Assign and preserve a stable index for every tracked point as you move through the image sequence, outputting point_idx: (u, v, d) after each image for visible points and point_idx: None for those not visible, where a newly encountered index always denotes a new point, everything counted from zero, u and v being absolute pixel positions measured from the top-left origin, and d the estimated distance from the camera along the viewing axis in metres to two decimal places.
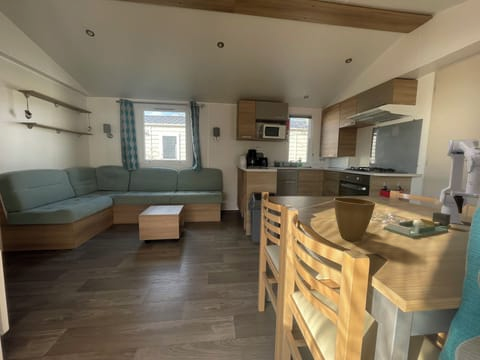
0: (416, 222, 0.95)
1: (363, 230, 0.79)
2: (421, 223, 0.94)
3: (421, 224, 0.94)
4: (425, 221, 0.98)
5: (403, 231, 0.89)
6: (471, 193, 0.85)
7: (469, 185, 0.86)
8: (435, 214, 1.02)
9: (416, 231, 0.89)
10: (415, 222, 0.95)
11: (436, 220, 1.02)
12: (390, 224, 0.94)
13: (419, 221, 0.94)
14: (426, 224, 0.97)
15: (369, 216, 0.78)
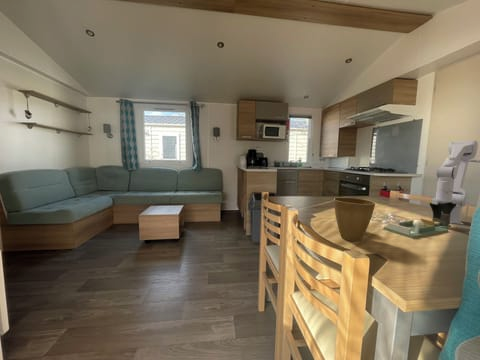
0: (416, 222, 0.95)
1: (363, 230, 0.79)
2: (421, 223, 0.94)
3: (421, 224, 0.94)
4: (425, 221, 0.98)
5: (403, 231, 0.89)
6: None
7: None
8: None
9: (416, 231, 0.89)
10: (415, 222, 0.95)
11: (436, 220, 1.02)
12: (390, 224, 0.94)
13: (419, 221, 0.94)
14: (426, 224, 0.97)
15: (369, 216, 0.78)
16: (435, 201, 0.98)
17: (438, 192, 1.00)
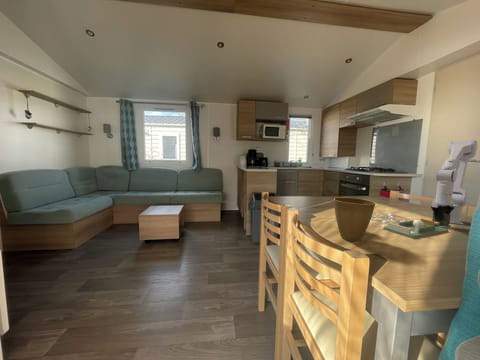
0: (416, 222, 0.95)
1: (363, 230, 0.79)
2: (421, 223, 0.94)
3: (421, 224, 0.94)
4: (425, 221, 0.98)
5: (403, 231, 0.89)
6: None
7: None
8: None
9: (416, 231, 0.89)
10: (415, 222, 0.95)
11: None
12: (390, 224, 0.94)
13: (419, 221, 0.94)
14: (426, 224, 0.97)
15: (369, 216, 0.78)
16: (435, 204, 0.98)
17: (438, 195, 1.01)
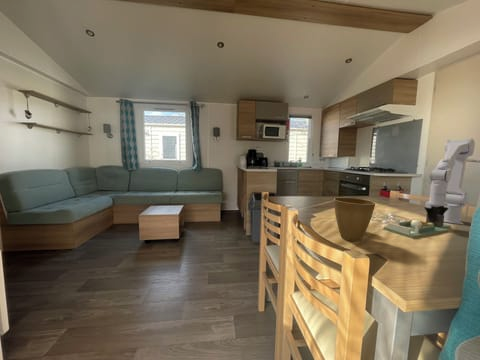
0: (413, 225, 0.94)
1: (363, 230, 0.79)
2: None
3: None
4: None
5: (403, 231, 0.89)
6: None
7: None
8: None
9: (416, 231, 0.89)
10: (413, 225, 0.95)
11: (430, 221, 1.00)
12: (390, 224, 0.94)
13: (416, 223, 0.94)
14: None
15: (369, 216, 0.78)
16: (428, 205, 0.96)
17: (432, 196, 0.99)
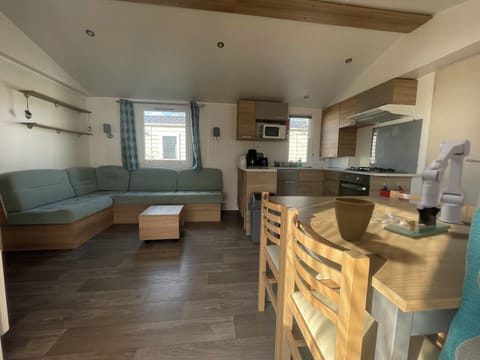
0: None
1: (363, 230, 0.79)
2: (408, 224, 0.90)
3: (408, 225, 0.90)
4: (410, 223, 0.94)
5: (403, 231, 0.89)
6: None
7: None
8: None
9: (416, 231, 0.89)
10: None
11: None
12: (390, 224, 0.94)
13: (407, 223, 0.91)
14: (411, 226, 0.93)
15: (369, 216, 0.78)
16: (420, 206, 0.94)
17: (424, 196, 0.96)
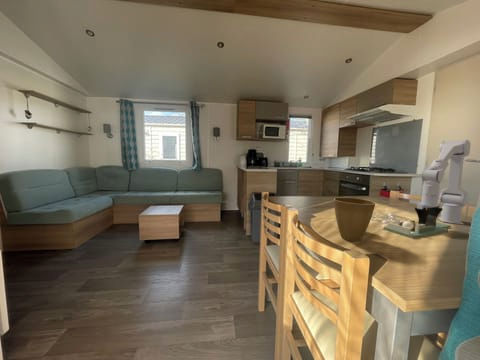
0: None
1: (363, 230, 0.79)
2: (413, 226, 0.92)
3: (413, 225, 0.92)
4: None
5: (403, 231, 0.89)
6: None
7: None
8: None
9: (416, 231, 0.89)
10: None
11: None
12: (390, 224, 0.94)
13: None
14: None
15: (369, 216, 0.78)
16: (420, 206, 0.94)
17: (424, 196, 0.97)
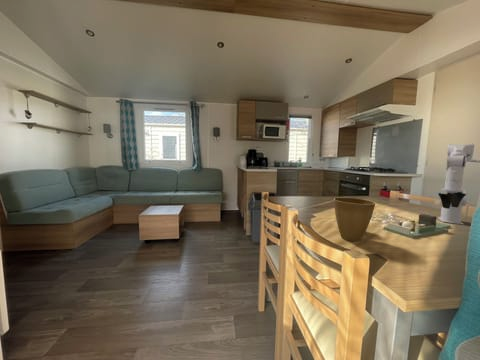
0: None
1: (363, 230, 0.79)
2: None
3: None
4: None
5: (403, 231, 0.89)
6: None
7: None
8: (421, 216, 0.98)
9: (416, 231, 0.89)
10: None
11: (422, 222, 0.98)
12: (390, 224, 0.94)
13: None
14: None
15: (369, 216, 0.78)
16: (444, 191, 0.96)
17: (447, 182, 0.99)
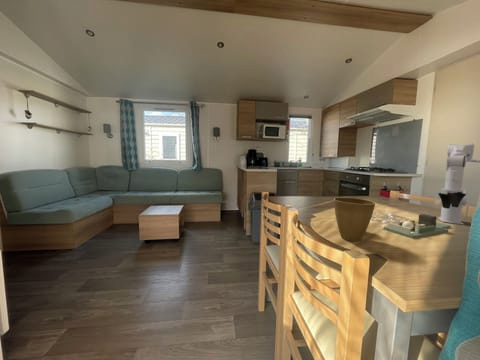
0: None
1: (363, 230, 0.79)
2: (413, 226, 0.92)
3: (413, 225, 0.92)
4: None
5: (403, 231, 0.89)
6: None
7: None
8: (421, 216, 0.98)
9: (416, 231, 0.89)
10: None
11: (422, 222, 0.98)
12: (390, 224, 0.94)
13: None
14: None
15: (369, 216, 0.78)
16: (444, 191, 0.96)
17: (448, 182, 0.99)
